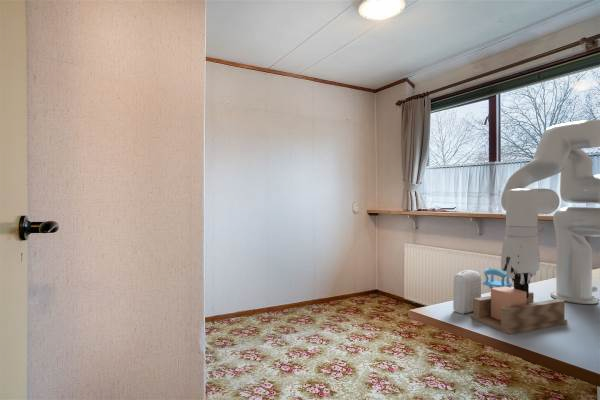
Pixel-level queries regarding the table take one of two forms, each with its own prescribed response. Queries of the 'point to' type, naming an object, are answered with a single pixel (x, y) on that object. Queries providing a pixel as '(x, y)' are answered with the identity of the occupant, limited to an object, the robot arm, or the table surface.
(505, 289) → the block
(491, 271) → the chair
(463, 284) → the photo printer
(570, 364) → the table surface
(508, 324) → the chute
